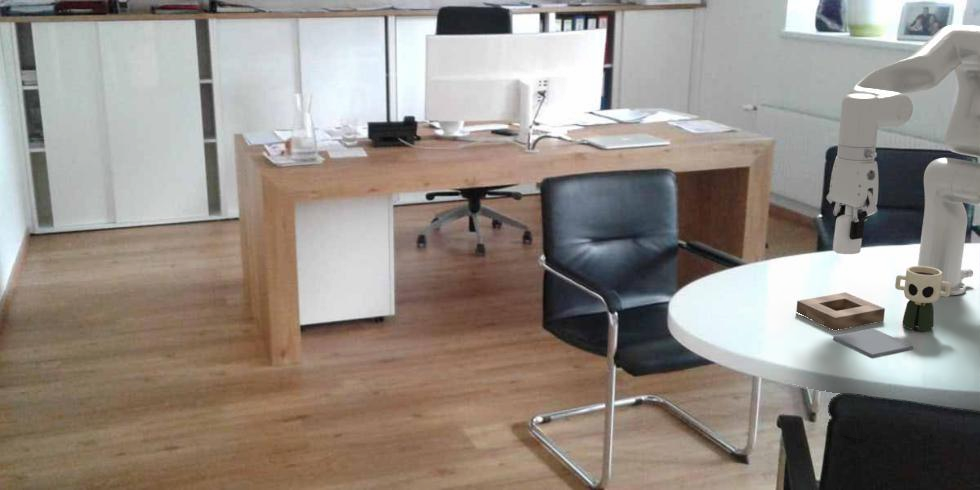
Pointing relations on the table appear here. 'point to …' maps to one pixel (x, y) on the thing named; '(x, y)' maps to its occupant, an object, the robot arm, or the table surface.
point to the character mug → (921, 295)
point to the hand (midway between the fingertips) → (848, 235)
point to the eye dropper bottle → (845, 234)
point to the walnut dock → (840, 311)
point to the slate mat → (872, 342)
